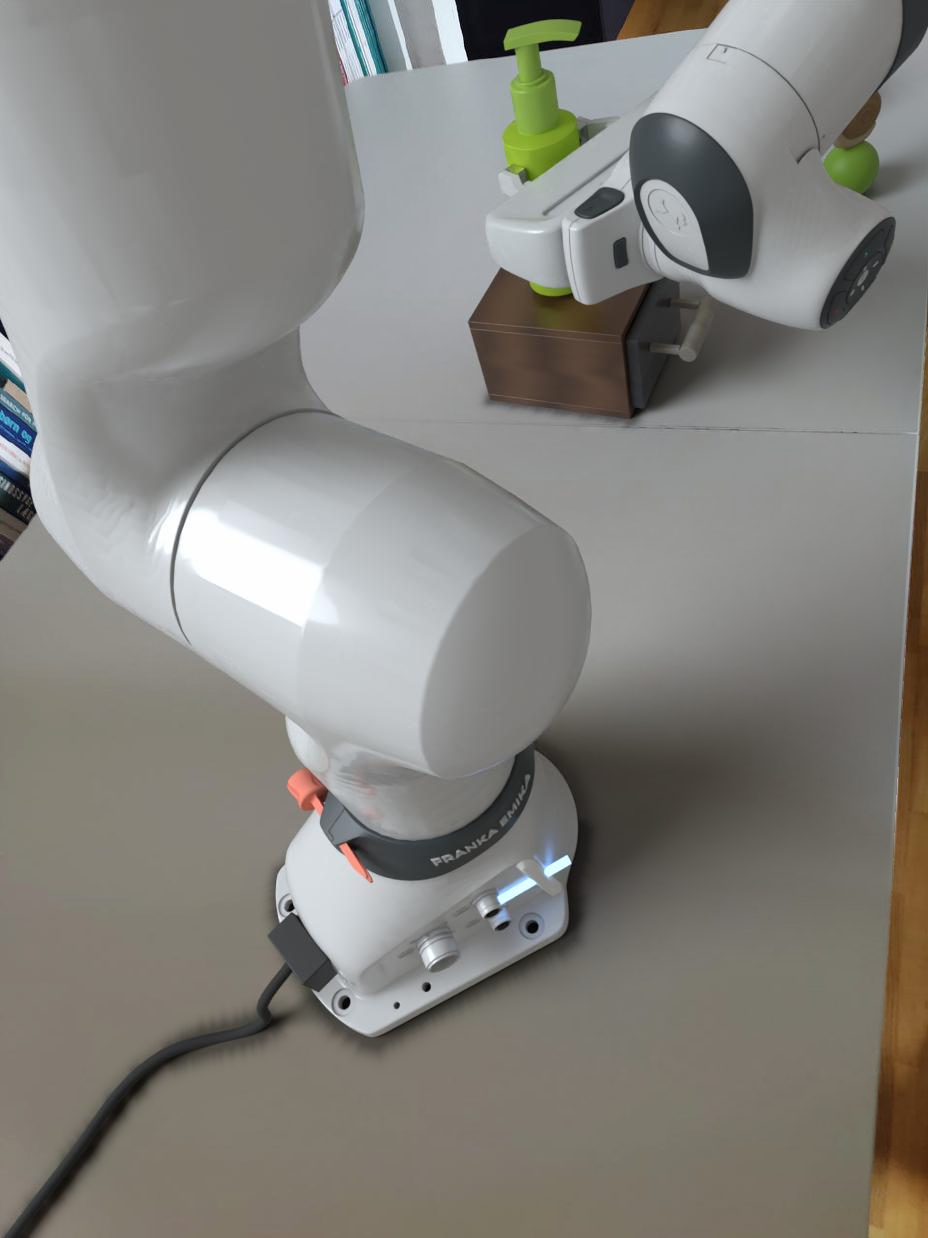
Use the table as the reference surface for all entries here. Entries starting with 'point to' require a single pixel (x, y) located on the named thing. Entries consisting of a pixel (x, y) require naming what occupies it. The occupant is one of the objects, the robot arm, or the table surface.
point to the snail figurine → (856, 150)
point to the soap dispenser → (538, 109)
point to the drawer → (662, 335)
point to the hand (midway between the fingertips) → (538, 154)
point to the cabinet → (554, 347)
